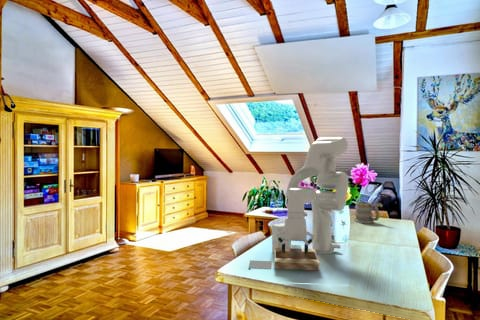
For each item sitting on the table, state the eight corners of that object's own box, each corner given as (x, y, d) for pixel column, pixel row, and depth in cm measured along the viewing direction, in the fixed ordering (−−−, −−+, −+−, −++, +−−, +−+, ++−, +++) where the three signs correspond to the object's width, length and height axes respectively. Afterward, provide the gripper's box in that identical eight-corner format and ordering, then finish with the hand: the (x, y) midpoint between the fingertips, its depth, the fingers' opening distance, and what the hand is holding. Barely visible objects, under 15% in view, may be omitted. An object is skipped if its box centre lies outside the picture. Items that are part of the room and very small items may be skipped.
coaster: (271, 262, 155) (271, 261, 155) (271, 270, 145) (271, 268, 145) (250, 261, 156) (250, 260, 156) (248, 269, 146) (248, 267, 146)
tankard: (351, 221, 245) (351, 201, 245) (359, 219, 254) (359, 199, 253) (377, 226, 230) (378, 204, 230) (385, 223, 239) (386, 202, 239)
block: (300, 262, 154) (300, 245, 154) (301, 267, 147) (301, 249, 147) (289, 261, 154) (289, 244, 154) (290, 267, 148) (290, 249, 147)
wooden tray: (314, 259, 160) (314, 248, 160) (319, 274, 140) (320, 263, 140) (274, 257, 162) (274, 247, 162) (274, 272, 142) (274, 261, 142)
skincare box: (285, 250, 174) (285, 222, 173) (291, 253, 168) (291, 224, 168) (271, 252, 170) (271, 223, 170) (277, 255, 165) (277, 226, 164)
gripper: (314, 214, 153) (313, 251, 153) (276, 213, 154) (275, 249, 155) (316, 217, 145) (315, 256, 145) (276, 216, 147) (275, 254, 147)
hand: (294, 252), depth 150 cm, fingers open, 9 cm apart
